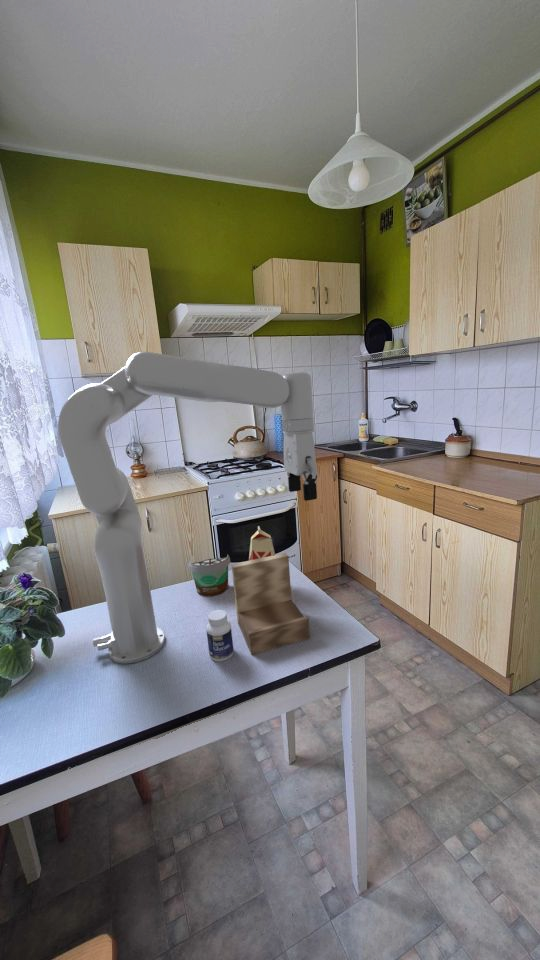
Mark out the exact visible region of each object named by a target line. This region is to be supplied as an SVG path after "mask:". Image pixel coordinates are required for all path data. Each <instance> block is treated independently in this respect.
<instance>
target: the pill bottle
mask: <svg viewBox="0 0 540 960" xmlns="http://www.w3.org/2000/svg"><path fill="white" fill-rule="evenodd" d="M207 618H208V623H207V624H206V636H207V646H208V654H209V658H210V659H211V660H213V661H215V662H223V661H227V660H229V659H230V658H232V656H233V655H234V642H233V632H232V625H231V624H232V623H231V621H230V620H228V615H227V612H226V611H225V610H222V609H216V610H213V611H210V613H208V616H207Z"/></svg>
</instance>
